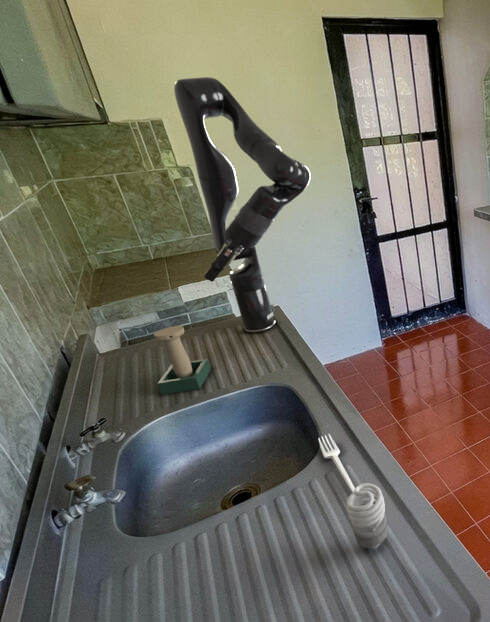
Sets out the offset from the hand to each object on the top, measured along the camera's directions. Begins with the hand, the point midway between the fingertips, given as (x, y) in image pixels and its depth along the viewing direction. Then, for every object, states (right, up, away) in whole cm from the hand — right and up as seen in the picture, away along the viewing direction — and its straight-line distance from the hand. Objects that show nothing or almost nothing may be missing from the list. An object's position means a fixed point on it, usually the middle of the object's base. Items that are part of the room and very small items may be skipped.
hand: (213, 273), depth 115 cm
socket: (-12, -29, +7) cm, 32 cm away
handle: (-11, -28, +7) cm, 31 cm away
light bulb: (+51, -48, -40) cm, 81 cm away
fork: (+41, -41, -24) cm, 63 cm away
